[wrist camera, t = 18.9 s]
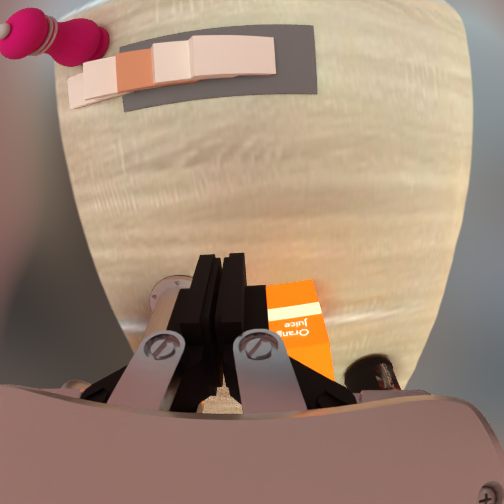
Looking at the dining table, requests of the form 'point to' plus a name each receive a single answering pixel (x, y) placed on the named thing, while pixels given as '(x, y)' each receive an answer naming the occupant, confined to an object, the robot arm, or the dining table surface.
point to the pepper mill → (52, 38)
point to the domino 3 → (137, 71)
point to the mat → (283, 82)
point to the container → (371, 376)
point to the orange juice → (300, 324)
